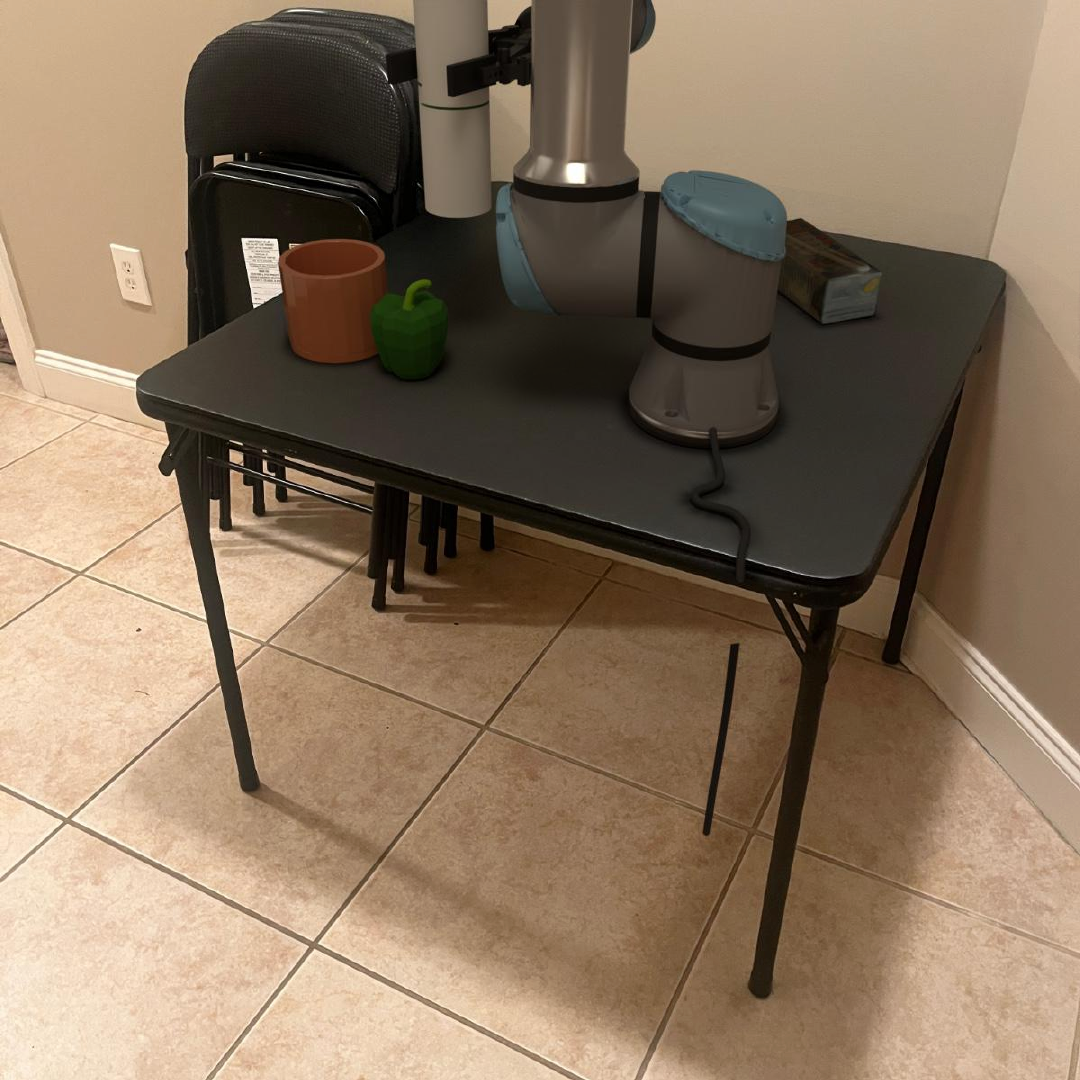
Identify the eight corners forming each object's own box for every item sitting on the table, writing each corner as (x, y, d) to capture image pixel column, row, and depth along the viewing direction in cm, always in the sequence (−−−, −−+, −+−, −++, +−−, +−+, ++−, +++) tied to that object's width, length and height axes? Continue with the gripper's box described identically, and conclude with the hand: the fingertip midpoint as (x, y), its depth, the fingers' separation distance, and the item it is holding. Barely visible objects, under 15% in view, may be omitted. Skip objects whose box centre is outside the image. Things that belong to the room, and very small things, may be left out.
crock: (393, 360, 115) (386, 275, 109) (288, 366, 114) (275, 280, 108) (390, 317, 124) (383, 236, 118) (292, 322, 123) (280, 241, 117)
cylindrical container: (481, 193, 114) (475, -67, 99) (499, 214, 108) (495, -58, 94) (418, 199, 112) (402, -65, 97) (433, 220, 107) (418, -55, 92)
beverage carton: (818, 326, 123) (828, 274, 119) (742, 268, 138) (749, 220, 134) (875, 317, 125) (886, 265, 121) (795, 261, 140) (802, 213, 136)
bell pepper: (378, 390, 109) (369, 302, 103) (372, 356, 116) (364, 271, 110) (456, 383, 111) (451, 296, 105) (446, 350, 117) (442, 266, 111)
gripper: (632, 87, 111) (501, 133, 96) (489, 62, 121) (349, 100, 106) (637, 11, 107) (499, 46, 92) (487, -10, 116) (341, 20, 101)
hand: (419, 75), depth 99 cm, fingers closed on cylindrical container, 7 cm apart
